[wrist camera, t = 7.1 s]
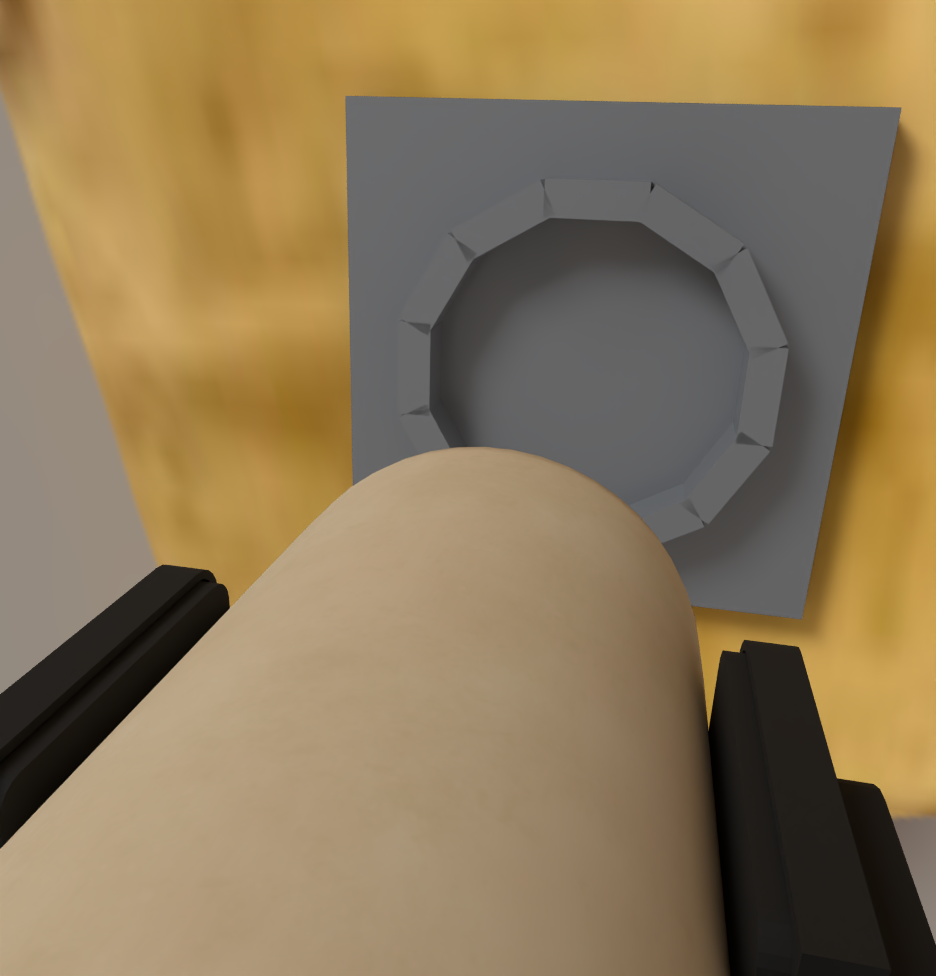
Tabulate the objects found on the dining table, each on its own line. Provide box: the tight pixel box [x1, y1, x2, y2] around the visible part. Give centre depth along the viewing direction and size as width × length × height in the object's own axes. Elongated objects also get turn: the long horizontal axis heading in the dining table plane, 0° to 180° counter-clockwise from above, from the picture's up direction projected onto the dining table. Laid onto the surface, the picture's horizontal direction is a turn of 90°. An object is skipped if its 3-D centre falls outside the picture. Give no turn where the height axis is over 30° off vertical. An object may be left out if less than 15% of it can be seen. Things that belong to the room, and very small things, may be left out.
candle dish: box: [346, 96, 901, 619], centre depth 26 cm, size 15×15×2 cm
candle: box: [0, 447, 731, 976], centre depth 7 cm, size 6×6×10 cm
